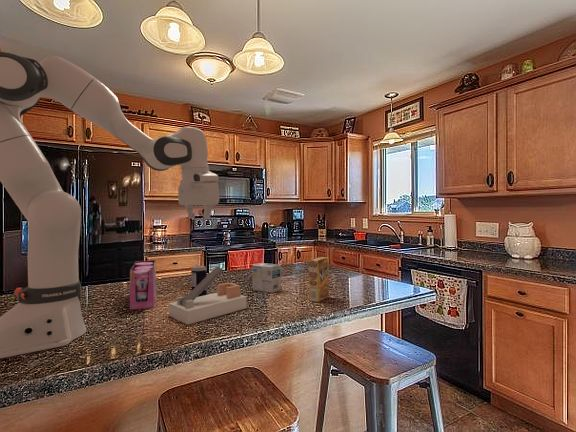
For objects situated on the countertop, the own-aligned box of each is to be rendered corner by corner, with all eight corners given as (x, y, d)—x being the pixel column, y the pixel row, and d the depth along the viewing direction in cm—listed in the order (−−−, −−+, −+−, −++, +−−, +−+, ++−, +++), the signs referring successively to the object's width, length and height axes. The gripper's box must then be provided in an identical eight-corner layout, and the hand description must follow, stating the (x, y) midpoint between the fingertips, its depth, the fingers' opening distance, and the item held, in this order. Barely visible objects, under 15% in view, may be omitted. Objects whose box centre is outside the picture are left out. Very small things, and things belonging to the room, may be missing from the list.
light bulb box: (281, 289, 137) (281, 264, 137) (272, 293, 132) (272, 266, 132) (261, 286, 143) (261, 262, 143) (251, 290, 138) (251, 264, 137)
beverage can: (202, 300, 123) (202, 268, 122) (188, 299, 124) (188, 267, 123) (209, 296, 128) (208, 265, 128) (195, 295, 129) (195, 265, 129)
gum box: (154, 308, 112) (153, 269, 112) (128, 311, 110) (128, 271, 109) (156, 292, 135) (156, 259, 135) (135, 294, 132) (134, 260, 132)
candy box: (318, 302, 118) (318, 260, 118) (308, 300, 120) (308, 259, 120) (329, 297, 125) (329, 257, 125) (319, 295, 128) (319, 256, 127)
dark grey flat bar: (187, 307, 100) (185, 305, 100) (180, 304, 103) (179, 302, 103) (223, 270, 110) (222, 268, 109) (216, 269, 113) (215, 267, 112)
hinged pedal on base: (187, 324, 96) (187, 299, 96) (168, 315, 105) (168, 292, 104) (246, 308, 112) (246, 286, 112) (226, 301, 120) (225, 281, 120)
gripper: (172, 179, 114) (175, 218, 115) (204, 175, 100) (207, 220, 101) (188, 178, 118) (191, 216, 119) (221, 175, 104) (224, 218, 105)
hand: (198, 218), depth 110 cm, fingers open, 8 cm apart
